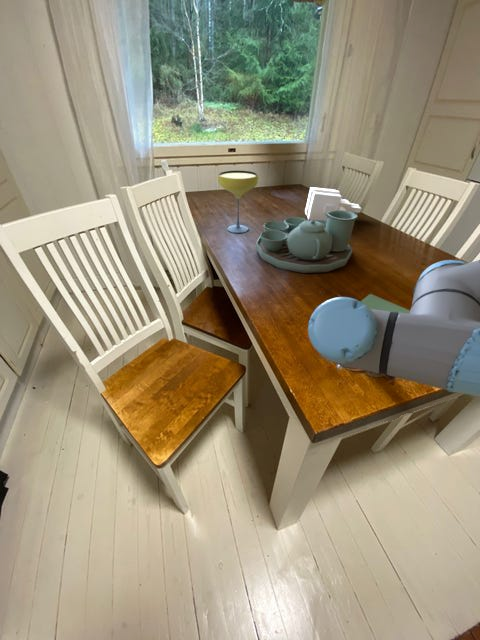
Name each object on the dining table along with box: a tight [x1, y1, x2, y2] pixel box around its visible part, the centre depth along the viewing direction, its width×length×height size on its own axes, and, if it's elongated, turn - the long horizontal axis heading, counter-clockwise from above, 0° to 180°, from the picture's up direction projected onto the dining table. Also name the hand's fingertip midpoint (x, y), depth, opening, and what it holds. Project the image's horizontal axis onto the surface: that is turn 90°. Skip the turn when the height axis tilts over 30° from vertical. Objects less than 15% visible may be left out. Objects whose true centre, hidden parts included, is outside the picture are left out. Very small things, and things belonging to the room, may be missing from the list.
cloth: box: [359, 293, 411, 314], centre depth 84 cm, size 18×12×1 cm, turn 43°
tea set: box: [255, 210, 358, 274], centre depth 112 cm, size 40×40×16 cm
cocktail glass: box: [217, 170, 259, 234], centre depth 130 cm, size 18×18×25 cm
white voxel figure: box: [304, 186, 362, 221], centre depth 148 cm, size 15×25×28 cm
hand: (371, 364), depth 63 cm, fingers closed
